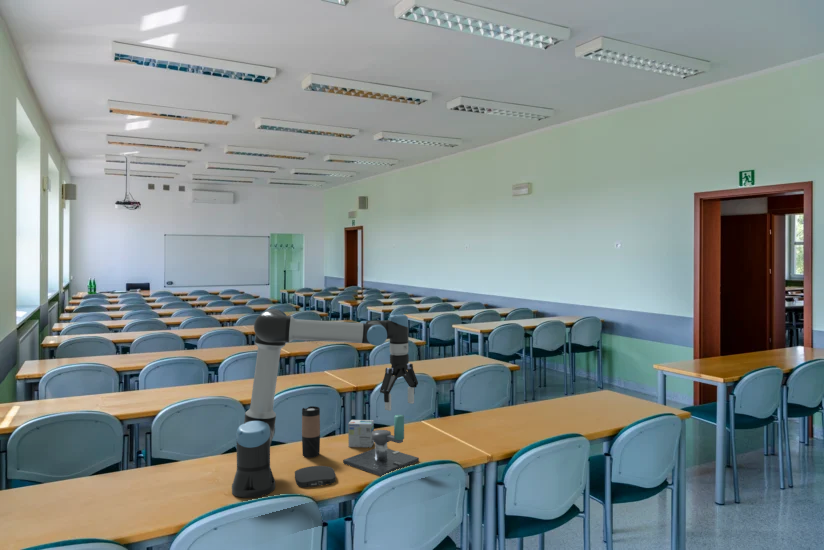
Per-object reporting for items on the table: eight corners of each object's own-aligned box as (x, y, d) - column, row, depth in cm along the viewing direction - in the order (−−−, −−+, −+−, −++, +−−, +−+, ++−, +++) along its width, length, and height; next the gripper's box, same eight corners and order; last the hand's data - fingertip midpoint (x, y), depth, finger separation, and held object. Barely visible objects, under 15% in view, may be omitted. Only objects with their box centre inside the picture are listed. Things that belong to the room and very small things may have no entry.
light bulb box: (374, 443, 255) (374, 419, 255) (371, 448, 248) (371, 423, 248) (351, 442, 256) (351, 419, 256) (348, 447, 249) (347, 423, 249)
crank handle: (396, 448, 219) (396, 419, 219) (367, 440, 230) (367, 411, 229) (409, 443, 225) (409, 414, 225) (380, 435, 236) (380, 408, 235)
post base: (382, 476, 215) (381, 453, 214) (343, 463, 229) (343, 441, 229) (418, 461, 231) (418, 439, 231) (380, 449, 246) (380, 429, 245)
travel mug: (318, 458, 235) (318, 410, 235) (300, 458, 235) (300, 410, 235) (321, 452, 243) (321, 406, 242) (304, 451, 243) (303, 406, 243)
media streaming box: (330, 470, 222) (330, 463, 222) (337, 484, 208) (337, 476, 208) (293, 475, 217) (293, 467, 217) (297, 489, 204) (297, 481, 203)
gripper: (384, 358, 211) (385, 414, 211) (426, 350, 230) (426, 401, 230) (370, 356, 216) (371, 411, 216) (412, 348, 235) (412, 399, 235)
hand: (399, 406), depth 223 cm, fingers open, 13 cm apart
